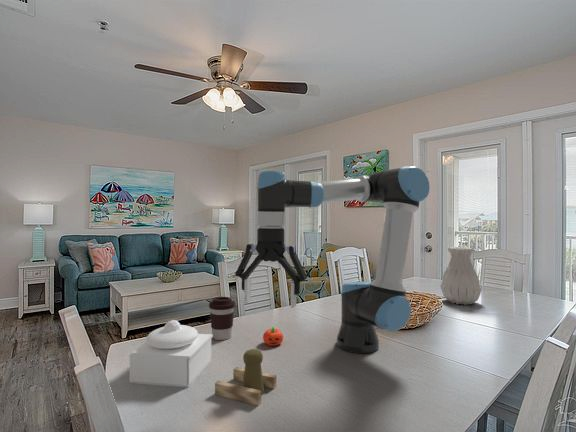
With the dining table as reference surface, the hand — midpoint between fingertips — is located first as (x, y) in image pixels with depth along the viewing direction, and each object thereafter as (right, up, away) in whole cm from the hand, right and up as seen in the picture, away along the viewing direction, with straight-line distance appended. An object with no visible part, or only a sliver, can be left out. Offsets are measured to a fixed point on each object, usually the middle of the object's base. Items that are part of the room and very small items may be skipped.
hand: (270, 304), depth 94 cm
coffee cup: (-21, -23, +38) cm, 49 cm away
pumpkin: (-1, -23, +32) cm, 39 cm away
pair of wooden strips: (-6, -23, -2) cm, 24 cm away
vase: (+99, -23, +92) cm, 137 cm away
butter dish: (-30, -23, +9) cm, 39 cm away
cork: (-4, -23, -3) cm, 24 cm away
